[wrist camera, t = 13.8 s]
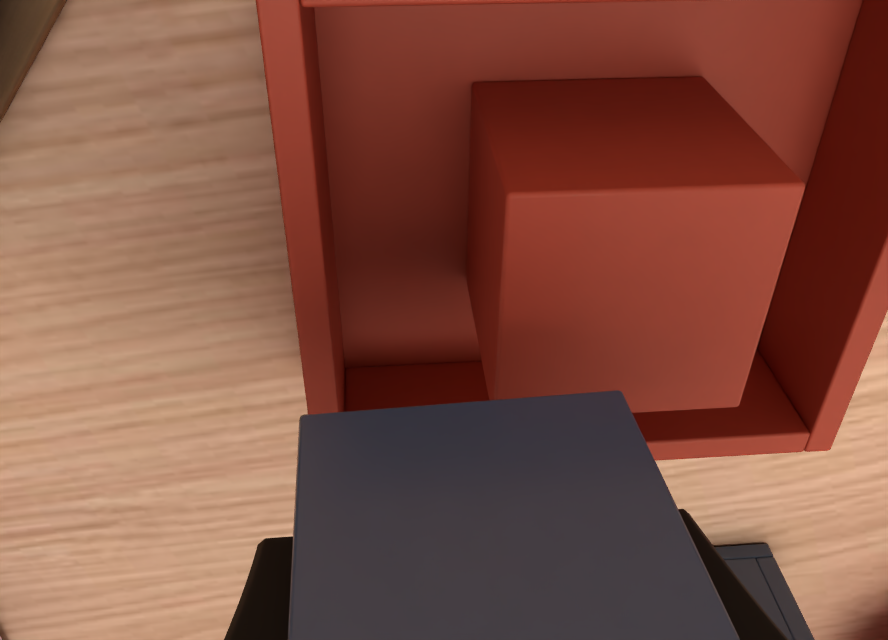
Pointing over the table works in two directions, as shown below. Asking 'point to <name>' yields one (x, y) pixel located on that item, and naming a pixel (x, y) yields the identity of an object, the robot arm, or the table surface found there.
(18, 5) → the figurine
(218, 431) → the table surface
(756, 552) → the blue bin
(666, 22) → the red bin
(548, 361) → the red block
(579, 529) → the blue block
